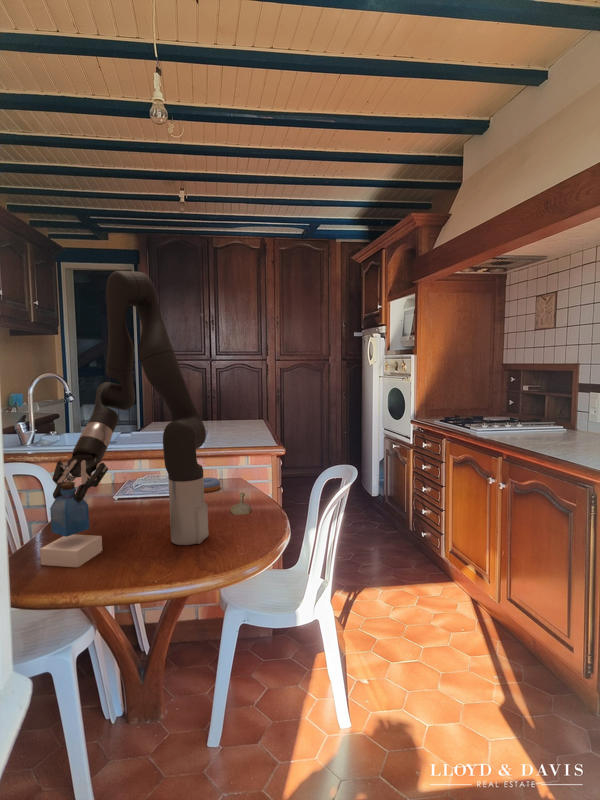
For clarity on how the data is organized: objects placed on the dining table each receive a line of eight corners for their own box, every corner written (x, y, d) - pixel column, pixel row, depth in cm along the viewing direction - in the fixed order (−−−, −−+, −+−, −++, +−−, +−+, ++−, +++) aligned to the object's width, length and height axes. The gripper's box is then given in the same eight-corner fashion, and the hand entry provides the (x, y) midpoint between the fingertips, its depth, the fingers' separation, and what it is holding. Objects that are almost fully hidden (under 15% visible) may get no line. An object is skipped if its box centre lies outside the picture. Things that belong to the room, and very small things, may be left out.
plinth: (102, 551, 127) (101, 536, 126) (77, 567, 117) (76, 551, 116) (68, 548, 129) (67, 534, 128) (41, 564, 119) (40, 548, 118)
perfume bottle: (89, 528, 123) (86, 482, 122) (66, 536, 118) (63, 488, 117) (74, 524, 127) (71, 479, 125) (51, 532, 121) (48, 484, 120)
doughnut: (221, 484, 190) (219, 473, 189) (220, 493, 180) (219, 481, 179) (195, 488, 189) (193, 477, 188) (193, 497, 179) (191, 485, 178)
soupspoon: (229, 519, 153) (250, 518, 154) (230, 508, 153) (251, 508, 154) (233, 496, 175) (252, 496, 176) (233, 487, 175) (252, 487, 175)
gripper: (62, 434, 130) (32, 491, 119) (111, 435, 127) (85, 493, 116) (76, 450, 135) (49, 505, 125) (123, 451, 133) (99, 508, 122)
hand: (66, 499), depth 121 cm, fingers closed on perfume bottle, 5 cm apart
